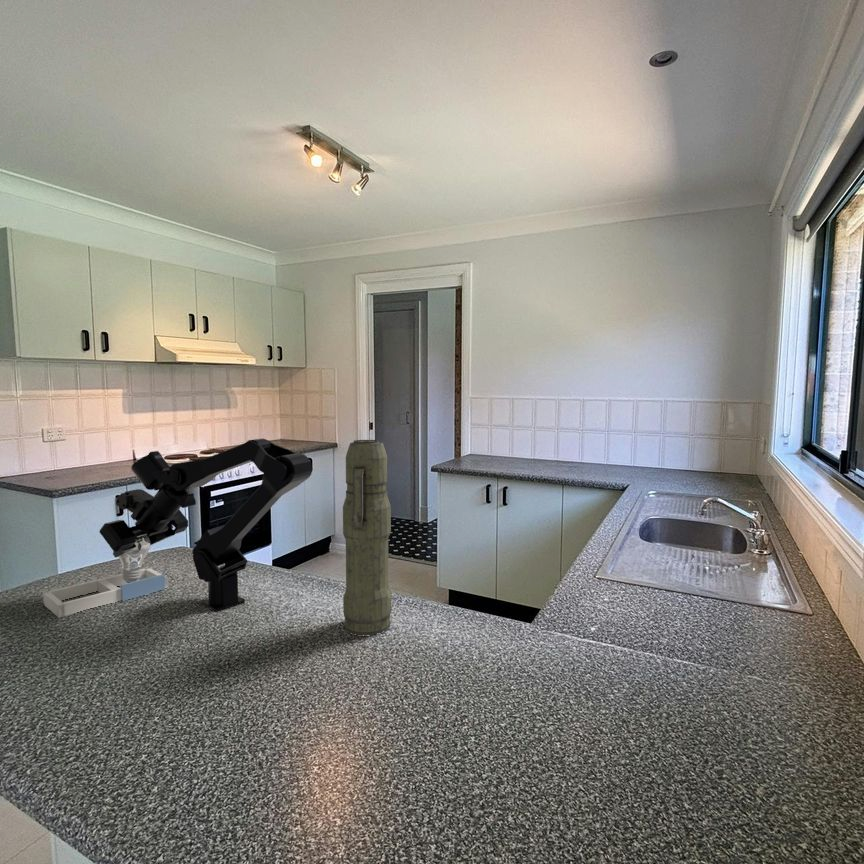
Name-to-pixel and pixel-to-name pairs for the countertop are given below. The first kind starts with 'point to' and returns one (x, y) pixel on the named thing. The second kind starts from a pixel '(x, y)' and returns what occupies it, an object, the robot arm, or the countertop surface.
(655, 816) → the countertop surface
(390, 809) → the countertop surface
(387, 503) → the thermos
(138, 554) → the light bulb
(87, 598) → the white tray
